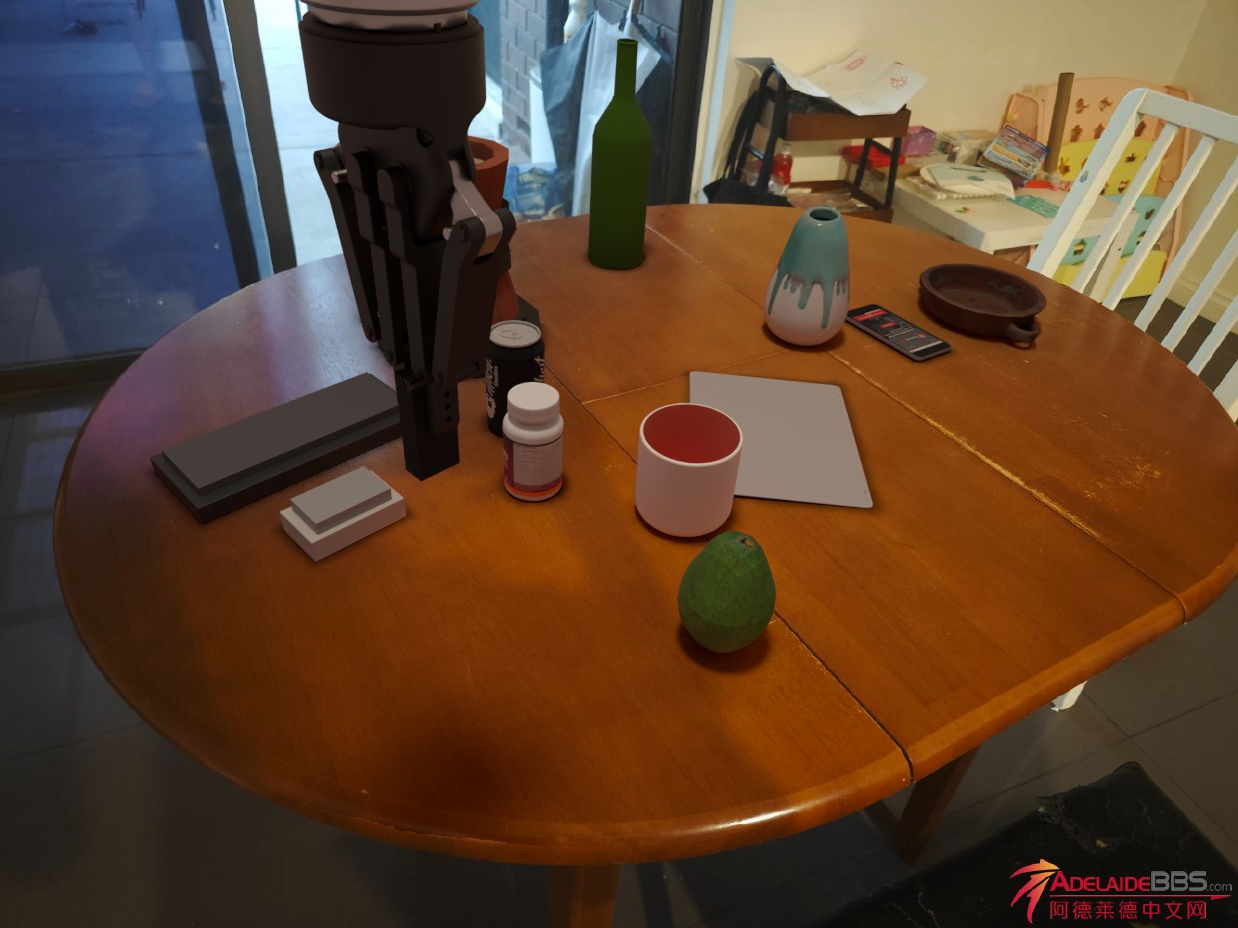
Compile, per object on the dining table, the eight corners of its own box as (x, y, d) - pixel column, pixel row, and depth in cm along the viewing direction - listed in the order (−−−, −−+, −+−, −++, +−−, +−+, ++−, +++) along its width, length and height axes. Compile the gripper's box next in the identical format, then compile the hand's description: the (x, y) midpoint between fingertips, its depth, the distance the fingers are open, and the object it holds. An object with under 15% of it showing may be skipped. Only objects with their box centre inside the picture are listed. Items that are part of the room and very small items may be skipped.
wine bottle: (608, 243, 144) (619, 31, 125) (653, 258, 140) (671, 41, 121) (576, 259, 138) (583, 39, 119) (621, 275, 134) (636, 50, 115)
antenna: (658, 371, 111) (659, 363, 110) (838, 390, 111) (840, 382, 110) (653, 490, 91) (654, 482, 90) (872, 513, 91) (875, 504, 90)
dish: (957, 278, 141) (966, 249, 138) (1072, 337, 126) (1085, 306, 123) (880, 296, 133) (888, 266, 130) (991, 362, 118) (1003, 330, 115)
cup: (705, 556, 83) (717, 479, 77) (616, 519, 87) (620, 442, 81) (745, 499, 90) (759, 423, 84) (661, 466, 94) (668, 391, 87)
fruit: (717, 591, 80) (735, 491, 72) (782, 642, 75) (809, 541, 68) (654, 631, 75) (667, 529, 68) (720, 688, 71) (741, 585, 63)
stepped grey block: (315, 562, 80) (309, 531, 77) (283, 530, 83) (276, 500, 81) (406, 516, 85) (403, 486, 83) (373, 488, 89) (369, 458, 86)
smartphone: (875, 302, 129) (954, 346, 120) (873, 307, 130) (952, 350, 120) (840, 312, 126) (919, 358, 116) (839, 317, 126) (917, 362, 117)
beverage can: (528, 446, 96) (528, 352, 89) (477, 431, 98) (472, 338, 91) (553, 416, 101) (554, 326, 94) (503, 403, 103) (501, 313, 96)
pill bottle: (507, 466, 93) (505, 376, 86) (564, 469, 93) (566, 380, 86) (500, 502, 88) (497, 410, 81) (560, 504, 88) (562, 413, 82)
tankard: (519, 389, 106) (516, 193, 91) (327, 363, 108) (294, 168, 93) (557, 311, 123) (560, 135, 108) (391, 290, 125) (371, 115, 111)
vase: (794, 362, 115) (820, 234, 104) (742, 325, 123) (762, 203, 112) (857, 344, 120) (889, 221, 110) (804, 310, 128) (828, 192, 117)
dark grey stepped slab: (202, 524, 83) (195, 500, 81) (154, 472, 89) (146, 449, 87) (425, 425, 98) (423, 403, 96) (372, 387, 104) (369, 365, 102)
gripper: (566, 29, 34) (557, 492, 48) (381, -20, 41) (421, 397, 55) (406, 50, 29) (448, 553, 44) (229, -9, 36) (315, 441, 51)
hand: (433, 465), depth 49 cm, fingers closed
